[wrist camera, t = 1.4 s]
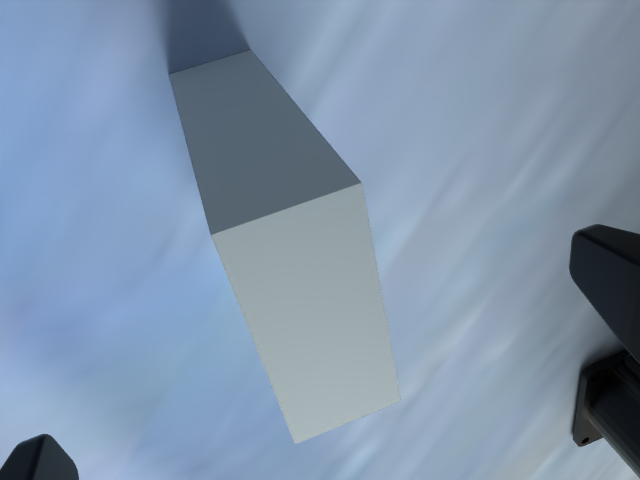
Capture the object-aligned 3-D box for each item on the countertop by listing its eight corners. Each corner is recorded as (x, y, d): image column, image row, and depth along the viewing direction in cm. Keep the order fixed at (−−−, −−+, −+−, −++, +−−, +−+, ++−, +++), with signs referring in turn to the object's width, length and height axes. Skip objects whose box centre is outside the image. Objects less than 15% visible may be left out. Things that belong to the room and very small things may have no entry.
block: (294, 207, 17) (401, 400, 10) (227, 230, 16) (295, 444, 10) (250, 49, 14) (362, 182, 7) (168, 74, 14) (211, 235, 7)
